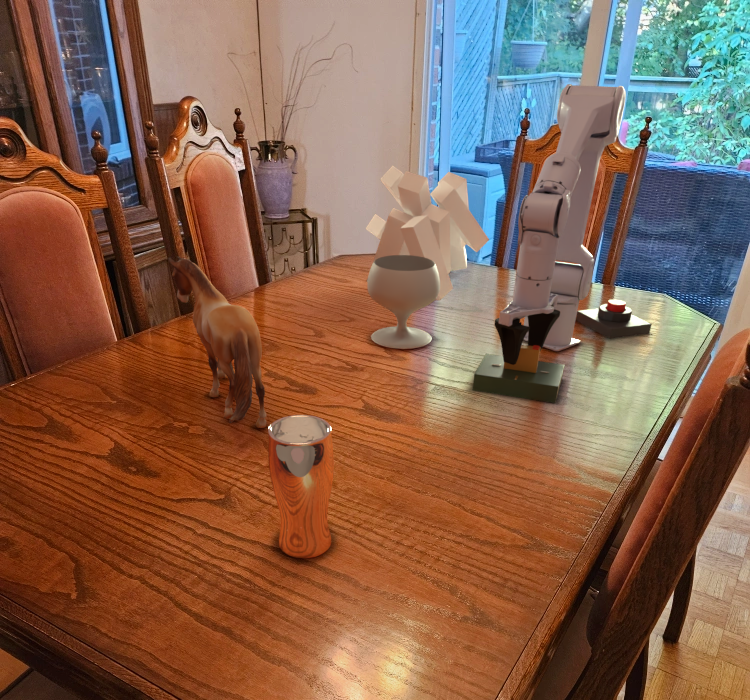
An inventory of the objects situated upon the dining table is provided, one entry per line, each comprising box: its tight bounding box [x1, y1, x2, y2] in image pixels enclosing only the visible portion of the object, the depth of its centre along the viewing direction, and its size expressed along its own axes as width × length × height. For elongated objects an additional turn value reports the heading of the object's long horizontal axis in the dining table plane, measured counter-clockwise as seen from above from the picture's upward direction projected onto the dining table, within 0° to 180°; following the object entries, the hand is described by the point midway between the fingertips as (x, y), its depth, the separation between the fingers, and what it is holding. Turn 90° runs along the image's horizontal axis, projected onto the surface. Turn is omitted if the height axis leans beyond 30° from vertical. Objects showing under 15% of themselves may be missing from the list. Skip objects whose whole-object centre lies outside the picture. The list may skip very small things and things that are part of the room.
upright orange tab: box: [504, 344, 542, 373], centre depth 113 cm, size 6×2×4 cm, turn 71°
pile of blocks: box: [365, 165, 490, 301], centre depth 159 cm, size 35×30×35 cm
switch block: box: [575, 303, 652, 340], centre depth 141 cm, size 12×10×4 cm
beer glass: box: [267, 414, 335, 559], centre depth 74 cm, size 7×7×15 cm
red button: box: [606, 299, 627, 312], centre depth 139 cm, size 4×4×2 cm
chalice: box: [366, 255, 440, 350], centre depth 129 cm, size 14×14×15 cm
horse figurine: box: [167, 256, 268, 429], centre depth 101 cm, size 31×8×21 cm, turn 26°
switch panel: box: [472, 353, 565, 404], centre depth 115 cm, size 14×10×3 cm
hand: (522, 356), depth 113 cm, fingers open, 7 cm apart
